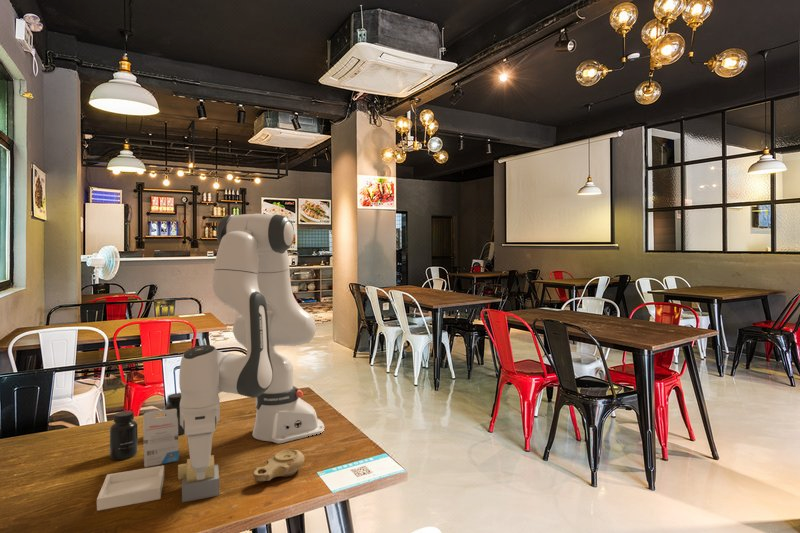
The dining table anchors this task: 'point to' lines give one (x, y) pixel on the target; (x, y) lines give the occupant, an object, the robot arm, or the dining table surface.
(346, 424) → the dining table surface
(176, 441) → the ink box
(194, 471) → the tan square frame block
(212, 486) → the grey pegged cube
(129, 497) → the tray
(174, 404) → the supplement bottle
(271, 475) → the oil lamp
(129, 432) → the supplement bottle
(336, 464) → the dining table surface
